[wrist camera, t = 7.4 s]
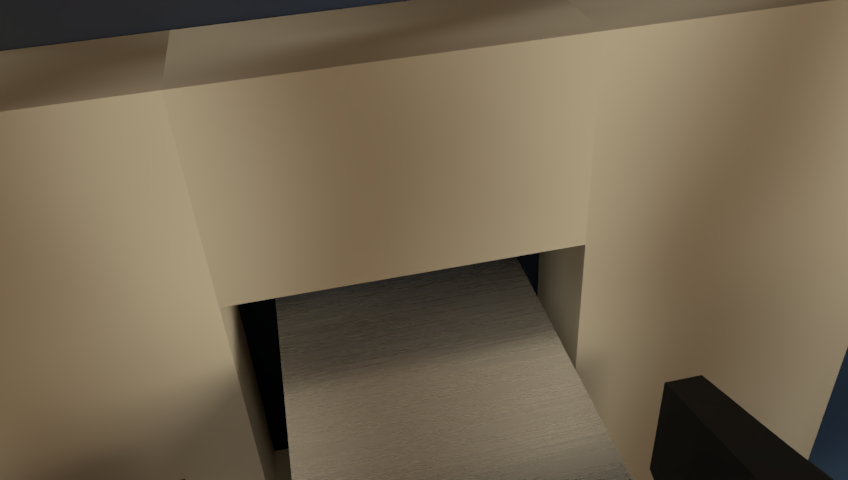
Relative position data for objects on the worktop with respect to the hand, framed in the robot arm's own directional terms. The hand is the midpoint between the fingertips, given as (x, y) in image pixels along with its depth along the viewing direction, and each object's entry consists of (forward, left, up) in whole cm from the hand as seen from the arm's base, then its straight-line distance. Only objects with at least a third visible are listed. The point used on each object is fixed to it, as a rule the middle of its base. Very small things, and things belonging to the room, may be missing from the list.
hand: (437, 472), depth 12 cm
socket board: (0, 0, -3) cm, 3 cm away
